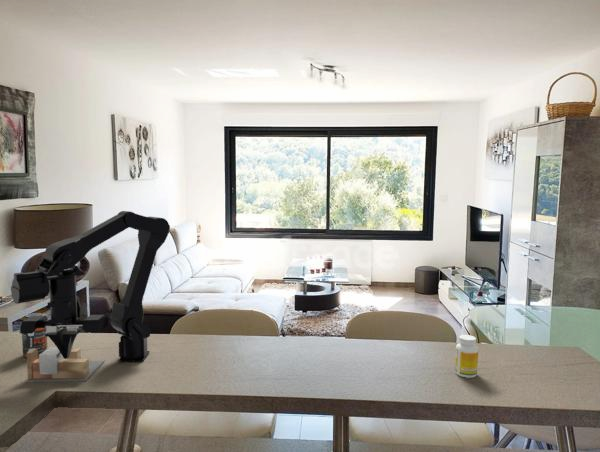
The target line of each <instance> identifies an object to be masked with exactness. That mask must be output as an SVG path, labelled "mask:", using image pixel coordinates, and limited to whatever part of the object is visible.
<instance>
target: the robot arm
mask: <svg viewBox="0 0 600 452" xmlns="http://www.w3.org/2000/svg"><path fill="white" fill-rule="evenodd" d="M128 228H131V229H134V230H137V231H138V232H137V240H138V250H137V253H136V256H135V260H134V263H133V266H132V270H131V273H130V276H129V278H128V279H129V280H128V283H127V286H126V289H125V293H124V296H123V298H122V299H121V300H120V301H119V302H116V301H114V302H113V304H112V310H111V313H110V314H109V315H108V316H109V318H110V325H111V327H112V328H113V329H115V330H116V331H117V334H118V335H121V336H120V337H119V339H120V340H119V342H118V356H119V357H118V362H121V363H123V362H126V363H128V362H139V363H140V362H144V361H145V359H146V358H147V357H148V356H149V355H150V351H149V350H148V338H149V337H150V336H151V332H152V328H150V327H149V326H147V325H146V324H145V323H143V321H144V315H145V314H144V306H143V299H144V296H145V293H146V289H147V285H148V283H149V279H150V276H151V272H152V269H153V265H154V263H155V258H156V255H157V252H158V250H159V249H160V248H161V247H162V245H164V243H165V242H166V240H167V238H168V235H169V233H170V231H171V230H170V229H171V226H170V224H169V222H168V221H167V219H166V218H164V217H157V216H146V215H145V216H144V215H141V214H138V213H135V212H134V211H129V210H128V211H127V210H122V211H119V212H118V213H117V214H116V215H114V216H112V217H110V218H108V219H106V220H104V221H103V222H101V223H99V224H97V225H95V226H93V227H92V228H90V229H88V230H86V231H85V232H83V233H81V234H79V235H77V236H73V237H69V238H65V239H62V240H58V241H56V242H53V243H51V244H49V245H48V246H47V247H46V248H45V251H44V256H43V258H42V260H40V262H39V264H38V265H37V267H36V268H35V270H34V271H30V272H15V273H13V279H12V282H11V286H10V292H11V298H12V301H13V302H14V304H16V305H17V304H24V303H29V302H34V301H41V300H45V298H46V297H48V296H49V301H47V308H50V318H48V316H47V315H42V316H31V317H29V318H27V319H24V320H22V321H21V322H20V324H19V327H18V328H19V334H20V335H22V334H32V333H33V332H34V331H35V330H36V328H46V331H47V333H46V334H45V336H46V337H47V338H49V339H50V340H51V342H53V344H54V345H55V347H57V348H58V350H59V351H60V353H61V354H62V356H63V357H64V359H67V358H68V357H69V355H70V352H71V349H72V348H73V345H74V342H75V340H76V338H77V336H78V334H80V333H81V332H82V331H83V332H85V333H99V332H100V333H101V332H102V331H103V330H104V329H105V328H106V327H107V326H109V319H108V317H107V315H106V314H90V315H88V316H87V310H88V303H86V302H80V297H79V296H77V279H76V277H77V276H84V275H85V274H86V272H85V271H84V270H81V268H80V267H79V266H78V265H77V264H78V263H79V262H81V261H82V260H83V259H84V258H85V256H86V255H87V254H88V253H89V252H90V251H91V250H92V249H94V248H96V247H98V246H99V245H101V244H103V243H104V242H106V241H108V240H110V239H111V238H114V237H115V236H116V235H119V234H120V233H122V232H123V231H126V230H127V229H128ZM86 316H87V317H86ZM82 317H86V318H85V319H83V318H82ZM79 318H80V319H79Z"/></svg>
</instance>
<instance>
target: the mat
mask: <svg viewBox="0 0 600 452" xmlns="http://www.w3.org/2000/svg"><path fill="white" fill-rule="evenodd" d="M104 363H105V360H89V375H88V376H87V377H86V378H38V379H28V378H27V380H26V382H28V383H31V382H32V383H33V382H34V383H35V382H38V383H40V382H41V383H42V382H43V383H44V382H47V383H48V382H87V381H88V380H89V379H90V378H91V377H92V376H93V375H94V374H95V373H96V372H97V370H98V369H100V368H101V366H102V365H103V364H104Z"/></svg>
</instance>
